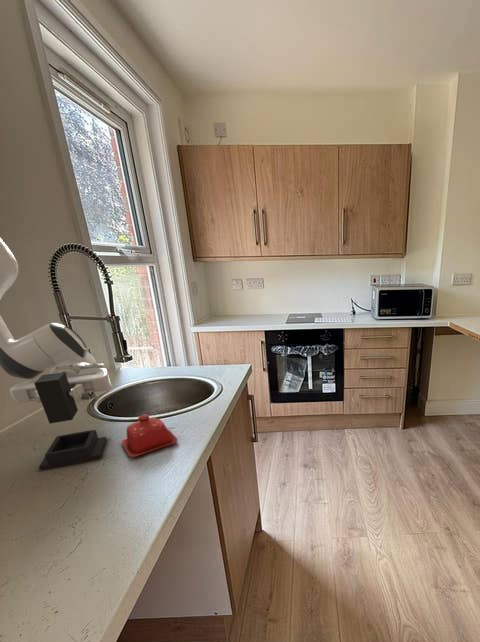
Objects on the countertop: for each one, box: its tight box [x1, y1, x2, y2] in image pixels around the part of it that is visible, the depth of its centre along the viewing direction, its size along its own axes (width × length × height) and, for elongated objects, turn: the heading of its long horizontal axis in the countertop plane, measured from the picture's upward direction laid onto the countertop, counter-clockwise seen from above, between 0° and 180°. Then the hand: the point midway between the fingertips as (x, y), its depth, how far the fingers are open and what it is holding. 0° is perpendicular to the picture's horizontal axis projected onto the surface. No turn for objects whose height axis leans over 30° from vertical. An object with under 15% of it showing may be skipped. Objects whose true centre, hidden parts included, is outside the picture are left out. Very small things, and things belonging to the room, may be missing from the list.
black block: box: [34, 372, 79, 424], centre depth 81 cm, size 4×6×10 cm
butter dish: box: [121, 414, 178, 458], centre depth 88 cm, size 12×12×8 cm
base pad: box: [38, 429, 108, 471], centre depth 85 cm, size 12×10×4 cm
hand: (55, 396), depth 80 cm, fingers closed on black block, 4 cm apart
